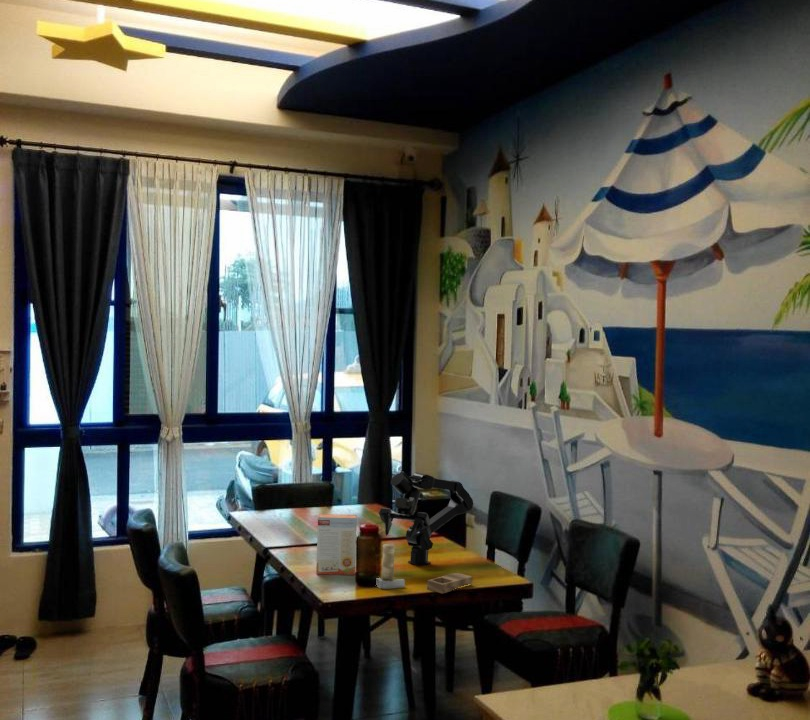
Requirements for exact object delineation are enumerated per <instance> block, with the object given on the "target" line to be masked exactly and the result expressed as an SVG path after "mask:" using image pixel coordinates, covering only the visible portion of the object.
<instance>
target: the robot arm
mask: <svg viewBox="0 0 810 720" xmlns="http://www.w3.org/2000/svg"><path fill="white" fill-rule="evenodd" d="M390 485H391V486H392V487H393V488H394V489H395V490H396V491H397V492H398V493H399V494H400V495H403V497H399V496H398V497H397V496H396V497H395V501H394V507H395V510H396V512H393V511H392V509H391V508H390V507H389V508H387V507H381V508H380V509H379V511H378V515H379V518H380V521H382V522H383V523H384V528H385V533H384V534H385V536H389V533H390V530H391V528H392V525H393V523H392V522H393V520H394V519H398V520H404V521H410V522H413V524H411V525H409V526H408V527H409V528H408V529H407V530H406V532H405V540H406V541H407V545H408V546H409V547H411V549H410V550H411V551H410V560H408V561H407V563H408V564H411V565H415V566H419V567H421V566H425V564H426V565H429V563H430V564H431V563H432V562H431V561H429V550H430V549H431V550H432V549H433V545H434V543H433V541H432V540H431V537H432V534H433V533H435V531H437V530H438V529H440V528H441V527H442V526H444V525H445V524H446V523H448V522H449V521H450V520H451V519H453V518H454V517H456V516H457V515H462V514H466V513H468V512H470V511H472V509H473V507H474V500H473V498H472V497H471V495H470V493H469V492H468V491H467V490H466V488H465V487H464V485H463V483H462V482H460V481H459V480H458V481H457V480H453V479H452V480H449V479H443V478H435V477H434V476H432V475H429V474H427V473H426V474H425V473H421V472H414V473H413V474H412V475H409V476H408V474H407V473H406V472H405V471H403V470H402V471H400V472H399V473H397V474H394V476H393V477H392V478H391V480H390ZM419 489H420V490H419ZM433 489H440V490H446V491H447V490H448V491H449V498H450V500H449V502H448V504H447V506H446V507H444V508H443V509H442V510H440V511H438V512H437V513H436V514H435V515H434V516H432V517H431V518H430V516H429V514H428V513H427V512H422V511H417V505H418V501H419V499H423V498H424V495H423V493H422V491H421V490H433ZM416 511H417V512H416ZM415 512H416V514H415V515H414V513H415Z"/></svg>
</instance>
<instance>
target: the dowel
mask: <svg viewBox="0 0 810 720" xmlns="http://www.w3.org/2000/svg"><path fill="white" fill-rule="evenodd" d="M395 546H396V545H395V544H393V543H384V544H383V545H382V564H381V579H382V580H384V581H385V580H394V575H395V573H394V572H395V571H394V570H395V548H396V547H395Z"/></svg>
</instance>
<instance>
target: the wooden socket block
mask: <svg viewBox="0 0 810 720" xmlns="http://www.w3.org/2000/svg"><path fill="white" fill-rule="evenodd" d="M471 583H472V584H473V576H472V575H469V574H468V575H467V574H463V573H461V572H454V573H450V574H445V575H443V576H438V577H434V578H432V579H427V580H426V589H427V590H429V591H433V592H436V593H439V594H447V593H449V592H452V590H453V589H455V588H458V587H461V586H464V585H468V584H471ZM453 591H454V590H453Z"/></svg>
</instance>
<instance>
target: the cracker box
mask: <svg viewBox="0 0 810 720" xmlns="http://www.w3.org/2000/svg"><path fill="white" fill-rule="evenodd" d="M357 518H358V515H357V514H332V513H331V514H330V513H329V514H324V513H323V514H321V513H320V514H318V517H317V537H316V539H317V540H316V544H317V545H316V566H315V567H316V568H315V569H316V572H315V573H316V574H315V575H340V576H341V575H345V576H354V575H355V574H356V560H357V559H356V552H357V551H356V548H357V520H358V519H357Z"/></svg>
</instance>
